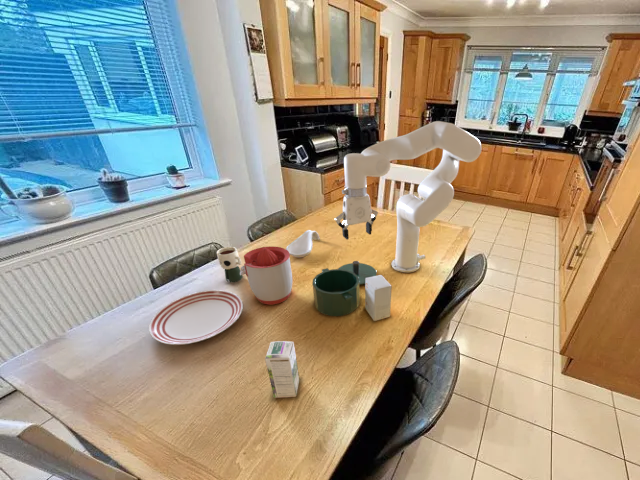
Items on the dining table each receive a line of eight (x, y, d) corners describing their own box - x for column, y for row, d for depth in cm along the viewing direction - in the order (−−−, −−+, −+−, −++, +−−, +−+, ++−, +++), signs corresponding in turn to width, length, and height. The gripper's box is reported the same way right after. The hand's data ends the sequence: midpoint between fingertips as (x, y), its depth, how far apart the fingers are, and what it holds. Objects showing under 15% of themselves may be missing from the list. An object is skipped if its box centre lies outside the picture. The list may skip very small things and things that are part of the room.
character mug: (217, 281, 122) (208, 252, 115) (230, 272, 128) (222, 244, 121) (239, 286, 119) (231, 257, 112) (251, 278, 125) (244, 249, 118)
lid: (364, 262, 139) (364, 249, 136) (384, 279, 127) (384, 266, 124) (329, 270, 132) (328, 258, 128) (346, 290, 120) (345, 277, 116)
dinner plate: (198, 361, 87) (195, 352, 86) (130, 336, 95) (126, 328, 93) (262, 307, 109) (260, 299, 107) (202, 290, 116) (200, 283, 115)
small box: (390, 316, 107) (392, 285, 100) (373, 321, 104) (374, 290, 97) (380, 304, 113) (381, 274, 106) (364, 308, 110) (364, 277, 103)
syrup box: (278, 380, 83) (268, 341, 75) (300, 379, 83) (293, 340, 75) (273, 398, 78) (263, 358, 70) (297, 397, 78) (289, 357, 70)
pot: (345, 282, 124) (344, 262, 119) (370, 311, 109) (370, 289, 104) (306, 293, 117) (303, 272, 112) (328, 326, 102) (326, 303, 96)
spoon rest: (306, 262, 137) (304, 248, 133) (282, 259, 139) (280, 244, 135) (326, 240, 157) (325, 227, 153) (304, 238, 158) (303, 225, 154)
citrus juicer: (246, 289, 118) (234, 242, 107) (292, 281, 123) (285, 236, 112) (247, 313, 106) (233, 263, 95) (298, 303, 112) (291, 255, 100)
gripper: (337, 197, 103) (340, 244, 112) (382, 191, 110) (381, 235, 119) (329, 191, 108) (333, 236, 117) (372, 185, 115) (372, 228, 125)
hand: (357, 235), depth 118 cm, fingers open, 9 cm apart
